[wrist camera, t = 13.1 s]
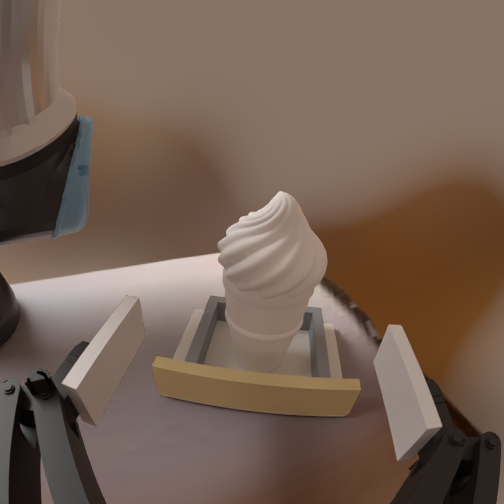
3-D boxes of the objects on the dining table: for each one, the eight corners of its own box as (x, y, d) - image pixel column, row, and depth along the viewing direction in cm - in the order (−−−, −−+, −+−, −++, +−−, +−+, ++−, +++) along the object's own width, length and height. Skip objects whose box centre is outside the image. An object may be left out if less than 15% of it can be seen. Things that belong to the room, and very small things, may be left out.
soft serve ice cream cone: (207, 335, 29) (210, 176, 23) (282, 326, 32) (306, 179, 25) (226, 400, 22) (237, 207, 15) (316, 381, 25) (364, 208, 18)
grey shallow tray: (195, 313, 34) (193, 282, 32) (331, 329, 33) (340, 298, 31) (159, 398, 22) (151, 365, 20) (345, 420, 21) (361, 390, 19)
